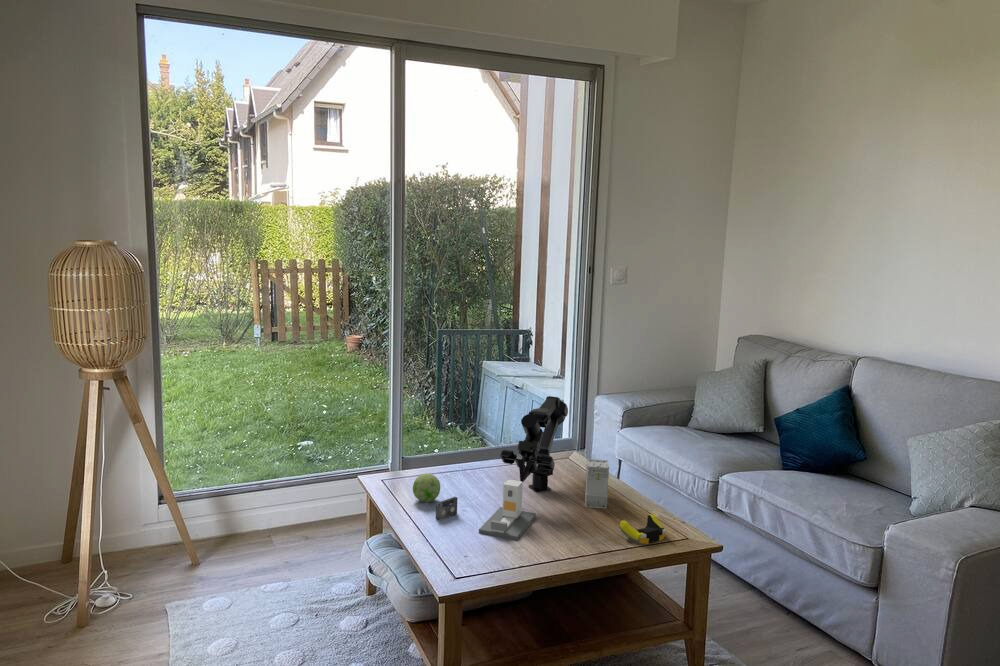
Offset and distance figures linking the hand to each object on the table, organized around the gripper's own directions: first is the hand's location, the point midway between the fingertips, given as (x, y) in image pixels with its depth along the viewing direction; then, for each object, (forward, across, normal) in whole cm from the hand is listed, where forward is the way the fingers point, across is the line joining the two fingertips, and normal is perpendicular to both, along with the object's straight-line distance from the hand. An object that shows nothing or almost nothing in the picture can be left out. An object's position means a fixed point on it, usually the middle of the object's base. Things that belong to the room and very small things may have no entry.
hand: (521, 481), depth 248 cm
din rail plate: (+16, 0, -1) cm, 16 cm away
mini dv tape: (+18, -21, -3) cm, 28 cm away
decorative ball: (+12, -33, +4) cm, 35 cm away
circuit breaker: (-7, +22, +22) cm, 32 cm away
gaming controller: (+10, +43, +5) cm, 45 cm away
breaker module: (+13, 0, 0) cm, 13 cm away
